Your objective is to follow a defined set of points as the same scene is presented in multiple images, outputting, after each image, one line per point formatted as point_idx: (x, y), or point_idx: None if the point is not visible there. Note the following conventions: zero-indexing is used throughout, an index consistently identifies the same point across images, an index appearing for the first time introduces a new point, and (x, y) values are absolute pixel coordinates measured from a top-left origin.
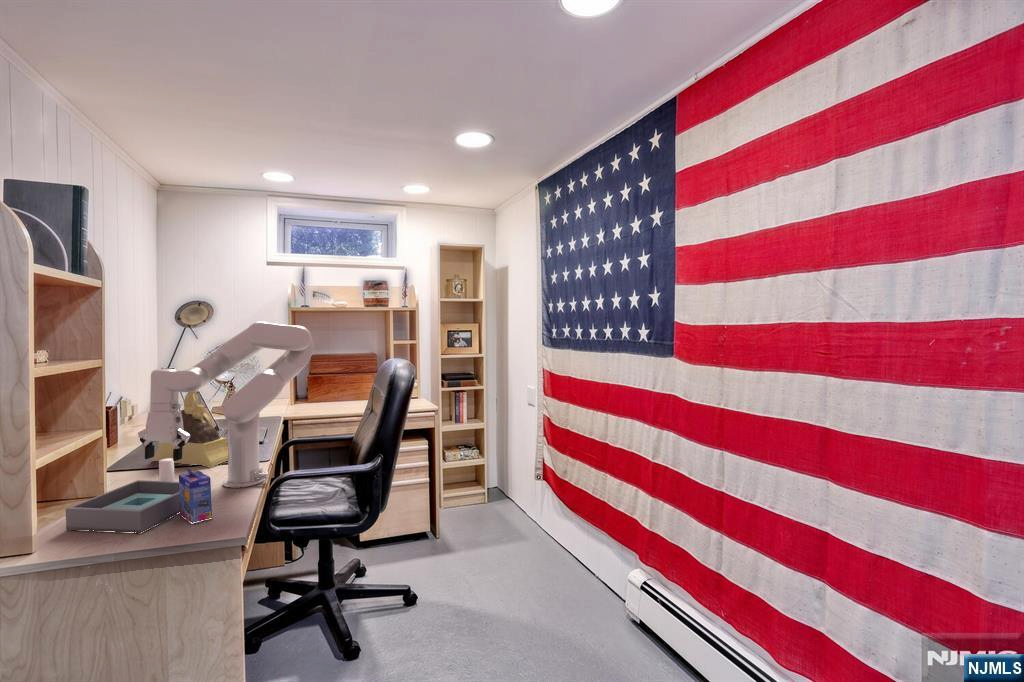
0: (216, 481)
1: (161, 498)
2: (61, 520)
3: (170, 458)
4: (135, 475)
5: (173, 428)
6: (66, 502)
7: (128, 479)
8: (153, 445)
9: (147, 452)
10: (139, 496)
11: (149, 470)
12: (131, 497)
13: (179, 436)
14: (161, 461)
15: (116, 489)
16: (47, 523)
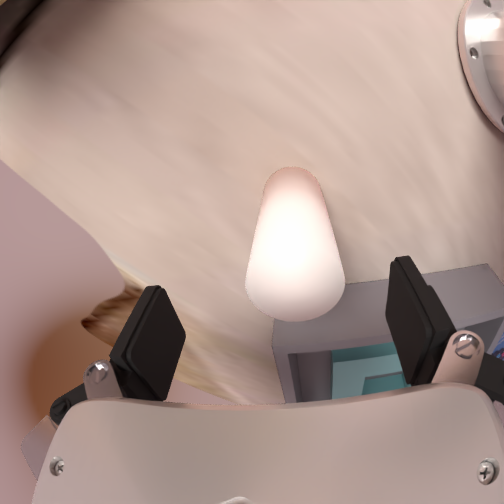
0: (415, 48)
1: None
2: (235, 391)
3: (288, 248)
4: (19, 119)
5: None
6: (119, 330)
7: (37, 155)
8: (126, 359)
9: (174, 369)
10: (363, 373)
11: (11, 67)
12: (346, 380)
13: (431, 422)
14: (291, 316)
15: (291, 399)
16: (227, 398)
